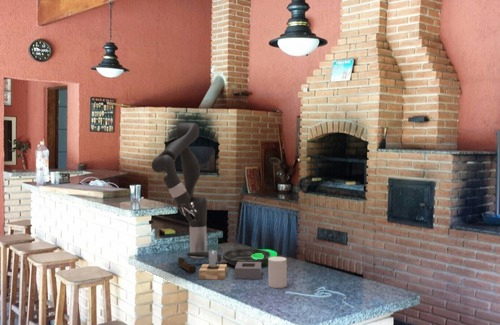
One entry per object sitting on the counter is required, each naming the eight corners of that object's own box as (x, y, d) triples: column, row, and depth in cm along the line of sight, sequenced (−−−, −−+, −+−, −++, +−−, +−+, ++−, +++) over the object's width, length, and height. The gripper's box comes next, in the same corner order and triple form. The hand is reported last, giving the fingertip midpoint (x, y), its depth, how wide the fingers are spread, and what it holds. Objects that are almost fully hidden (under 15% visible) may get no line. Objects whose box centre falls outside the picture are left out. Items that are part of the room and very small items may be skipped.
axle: (209, 274, 245) (209, 250, 244) (217, 274, 245) (217, 250, 244) (208, 276, 241) (208, 252, 240) (216, 276, 241) (216, 252, 240)
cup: (288, 283, 230) (288, 257, 229) (283, 288, 222) (283, 261, 221) (271, 281, 232) (271, 256, 232) (266, 287, 225) (266, 260, 224)
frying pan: (267, 256, 279) (267, 244, 279) (273, 269, 254) (273, 255, 254) (188, 259, 275) (187, 246, 275) (186, 271, 251) (185, 258, 250)
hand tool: (196, 273, 248) (196, 264, 248) (188, 274, 246) (188, 265, 246) (183, 264, 265) (183, 255, 265) (176, 265, 263) (176, 256, 263)
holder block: (237, 271, 249) (237, 261, 249) (261, 271, 249) (261, 261, 248) (235, 278, 237) (235, 268, 237) (260, 279, 237) (260, 268, 236)
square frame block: (202, 271, 249) (202, 264, 249) (226, 272, 249) (226, 264, 248) (198, 279, 237) (198, 270, 237) (224, 279, 237) (224, 270, 236)
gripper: (192, 188, 240) (208, 217, 243) (178, 189, 251) (193, 217, 255) (180, 196, 236) (196, 225, 239) (166, 197, 247) (182, 225, 251)
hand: (195, 221), depth 247 cm, fingers open, 8 cm apart
